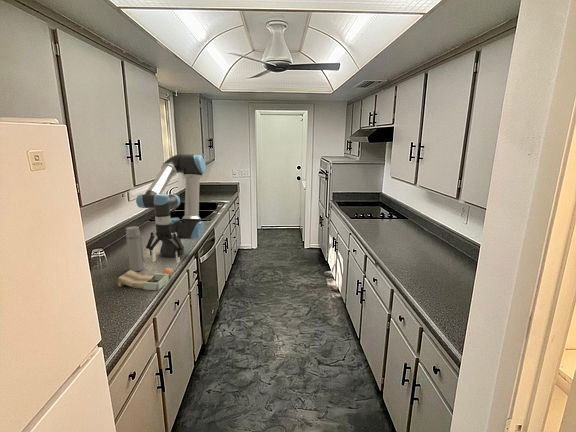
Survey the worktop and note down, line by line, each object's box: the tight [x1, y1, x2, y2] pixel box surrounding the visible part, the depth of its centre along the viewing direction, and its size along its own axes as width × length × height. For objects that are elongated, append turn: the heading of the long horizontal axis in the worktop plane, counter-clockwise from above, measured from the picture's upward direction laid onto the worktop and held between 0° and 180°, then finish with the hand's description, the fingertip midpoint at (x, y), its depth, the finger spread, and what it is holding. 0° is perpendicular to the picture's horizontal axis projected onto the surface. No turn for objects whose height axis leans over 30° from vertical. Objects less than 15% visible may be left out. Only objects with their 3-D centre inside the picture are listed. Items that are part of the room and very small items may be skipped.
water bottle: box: [125, 225, 147, 273], centre depth 183 cm, size 9×8×25 cm
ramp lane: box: [117, 269, 156, 289], centre depth 168 cm, size 10×14×5 cm
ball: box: [161, 267, 173, 277], centre depth 177 cm, size 5×5×5 cm
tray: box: [142, 272, 170, 291], centre depth 167 cm, size 12×8×4 cm, turn 174°
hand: (166, 261), depth 175 cm, fingers open, 13 cm apart
